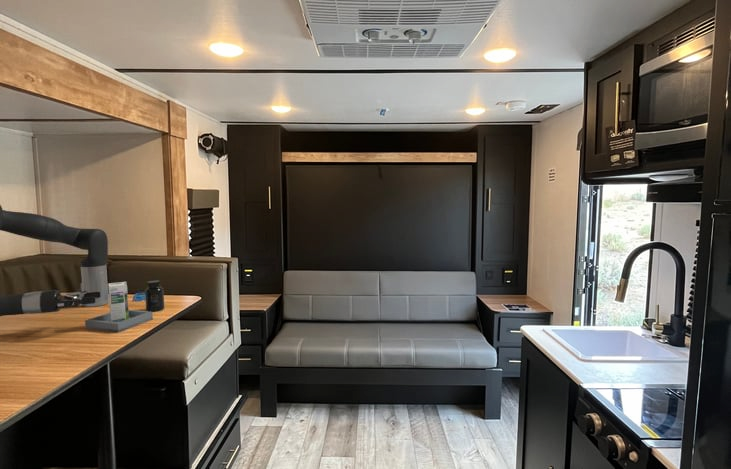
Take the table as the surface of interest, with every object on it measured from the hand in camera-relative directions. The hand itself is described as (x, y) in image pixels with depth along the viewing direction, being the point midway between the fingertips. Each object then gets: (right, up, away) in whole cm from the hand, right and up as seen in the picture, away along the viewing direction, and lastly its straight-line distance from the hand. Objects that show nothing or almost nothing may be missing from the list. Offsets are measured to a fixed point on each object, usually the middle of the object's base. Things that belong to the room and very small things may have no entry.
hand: (97, 297), depth 143 cm
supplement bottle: (+9, -9, +22) cm, 25 cm away
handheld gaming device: (-7, -7, +43) cm, 45 cm away
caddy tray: (+6, -10, +4) cm, 13 cm away
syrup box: (+6, -10, +4) cm, 12 cm away
